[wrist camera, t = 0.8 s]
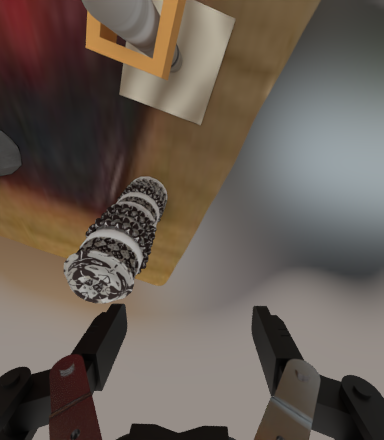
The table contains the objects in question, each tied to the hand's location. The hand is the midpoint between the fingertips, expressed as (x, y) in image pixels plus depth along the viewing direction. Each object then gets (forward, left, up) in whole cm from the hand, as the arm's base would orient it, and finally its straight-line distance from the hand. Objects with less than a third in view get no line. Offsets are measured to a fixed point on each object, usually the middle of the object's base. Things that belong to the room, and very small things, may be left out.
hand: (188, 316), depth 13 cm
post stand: (-15, +9, -32) cm, 36 cm away
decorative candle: (-4, -12, -32) cm, 35 cm away
